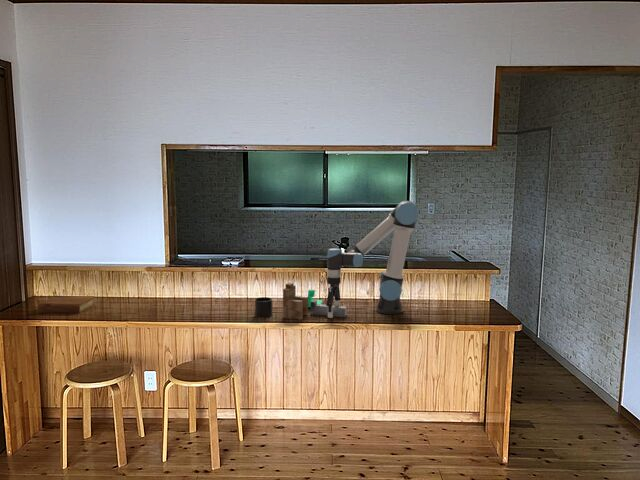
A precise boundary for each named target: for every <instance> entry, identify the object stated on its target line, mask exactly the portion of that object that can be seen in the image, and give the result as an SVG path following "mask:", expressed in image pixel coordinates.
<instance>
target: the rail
mask: <svg viewBox="0 0 640 480" xmlns="http://www.w3.org/2000/svg"><path fill="white" fill-rule="evenodd" d="M317 300H318V299H313V300H312V301H311V307H310V314H311V315H319V316H327V317H328V306H326V304H323V303H322V304H317ZM332 306H333V317H337V318H346V317H347V315H348V311H347V310H348V306H344V305H339V306H335V305H334V304H333V305H332Z"/></svg>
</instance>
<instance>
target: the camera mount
mask: <svg viewBox="0 0 640 480" xmlns="http://www.w3.org/2000/svg"><path fill="white" fill-rule="evenodd" d="M307 291H308V293H307V297H308V308H311V301H312V300H314V298H315V294H316V292H315V289H308V290H307ZM316 300H317V304H323V302H324V300H322V299H316Z"/></svg>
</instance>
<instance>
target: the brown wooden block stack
mask: <svg viewBox="0 0 640 480" xmlns="http://www.w3.org/2000/svg"><path fill="white" fill-rule="evenodd" d="M296 287H297V286H296V285H294V283H293V282H288V283H286V284H285V288H283V289H282V292H283V293H282V302H283V303H282V307H283V308H282V309H283V310H282V312H283V313H282V316H283V319H289V320H290V319H292V320H301V321H302V320H303V319H304V316H308V315H309V307H308V296H303V295H302V296H300V295H296V291H297V288H296Z"/></svg>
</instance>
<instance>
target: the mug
mask: <svg viewBox="0 0 640 480" xmlns="http://www.w3.org/2000/svg"><path fill="white" fill-rule="evenodd" d="M254 310H255V311H254V313H255V314H254V315H255V317H258V318H269V317H272V316H273V299H272V298H271V297H257V298H255V299H254Z"/></svg>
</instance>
